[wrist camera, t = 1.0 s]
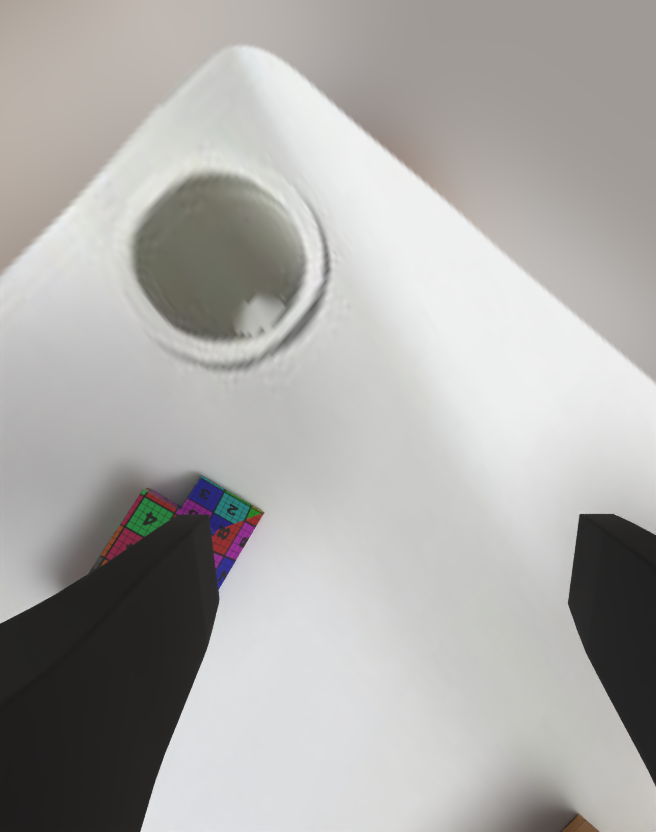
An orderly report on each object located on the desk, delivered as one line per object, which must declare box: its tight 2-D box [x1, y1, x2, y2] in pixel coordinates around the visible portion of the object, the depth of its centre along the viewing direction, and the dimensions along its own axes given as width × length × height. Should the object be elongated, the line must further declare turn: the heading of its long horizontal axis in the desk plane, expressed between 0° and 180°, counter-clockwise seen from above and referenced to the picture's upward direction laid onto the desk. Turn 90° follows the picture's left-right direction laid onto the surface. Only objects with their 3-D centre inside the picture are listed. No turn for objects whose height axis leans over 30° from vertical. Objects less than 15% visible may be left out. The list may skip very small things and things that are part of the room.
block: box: [89, 476, 264, 590], centre depth 18 cm, size 6×4×3 cm
